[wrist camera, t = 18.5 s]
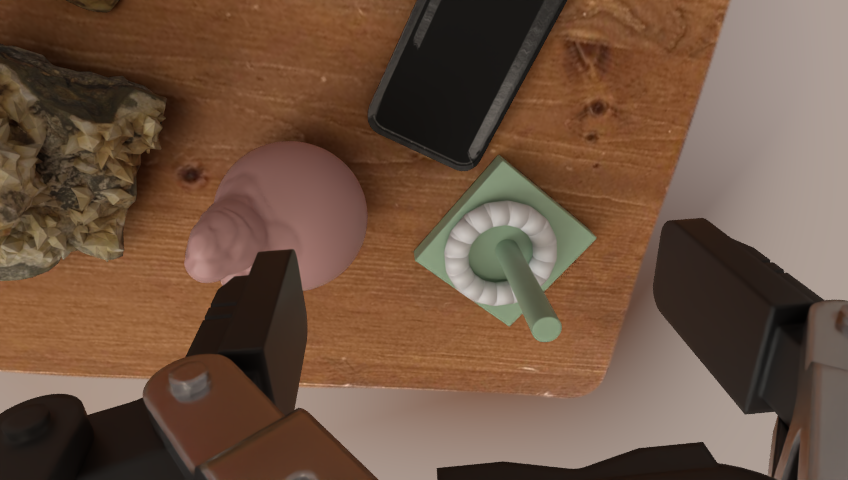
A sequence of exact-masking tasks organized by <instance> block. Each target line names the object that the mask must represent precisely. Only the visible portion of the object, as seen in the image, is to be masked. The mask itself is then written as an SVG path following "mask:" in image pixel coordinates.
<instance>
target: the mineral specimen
mask: <svg viewBox="0 0 848 480" xmlns="http://www.w3.org/2000/svg"><path fill="white" fill-rule="evenodd" d="M166 100H167V98H165V97H163V96H159V95H157V94H154V93H152V92H151V91H150V90H149V89H148V88H146V87H145V86H143V85H140V84H137V83H134V82H131V81H128V80H127V79H125V78H124V77H123V76H113V77H109V78H108V77H105V76H102V75H99V74H96V73H93V72H77V71H74V70H71V69H67V68H62V67H58V66H54V65H52V64H51V63H50V62H49V61H48V60H47V59H46V58H45V57H44V55H41V54H38V53H35V52H31V51H28V50H25V49H22V48H19V47H15V46H5V45H3V44H1V43H0V281H10V280H21V279H26V278H31V277H34V276H37V275H39V274H42V273H44V272H47V271H49V270H50V269H51V268H53V267H54V266H55V265H56V264H58V262H59V261H60V259H61V258H63V260H64V259H65V258H66V257H67V256H68V255H69V253H70V252H73V251H76V250H78V251H80V252H82V253H85V254H88V255H91V256H94V257H97V258H100V259H105V260H106V261H107V262H108V260H112V259H116V258H119V257H121V256H123V251H124V240H123V230H124V222H125V217H126V213H127V209H128V208H129V206H130V205H131V204H133V203H134V202H135V201H136V196H137V183H136V173H137V171H138V169H139V167H140V166H141V153H143V152H144V151H146V152H147V153H148V154H149V152H150V148H151V149H158V150H162V148H161V146H160V143H159V140H158V137H159V135H158V134H159V133H160V131H161V130H162V128H163V126H162V121H163V120H164V119H166V118H165V117H164V116H163V115H164V110H165V105H166Z"/></svg>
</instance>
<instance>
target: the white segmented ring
mask: <svg viewBox="0 0 848 480" xmlns="http://www.w3.org/2000/svg"><path fill="white" fill-rule="evenodd" d="M504 225H508V226H512V227H516V228H519V229H521V230H522V231H523V232H525V233H526V234H527V235H528V236H529V238H530V240H531V242H532V248H533V255H532V258H531V260H530V263H529V267H530V268H531V270H532V272H533V274H534V276H535V277H536V279H537V281H538V283H539V285H540V286H542V285H543V284H544V283H545V282H546V281H547V280H548V278H549V277H550V274H551V272H552V269H553V267H554V265H555V262H556V260H557V240H556V236H555V234H554V232H553V230H552V228H551V226H550V224H549V222H548V220H547V219H546V218H545V217H544V216H543V215H541V214H540V213H539V212H537V211H536V210H535V209H534V208H532V207H531V206H529V205H525V204H521V203H517V202H513V201H509V200H507V201H499V202H491V203H485V204H483V205H481V206H480V207H478V208H476V209H474V210H472V211H470V212H468V213H467V214H465V215H464V216H463V217H462V219H461V220H460V221H459V222H458V223H457V224H456V226H455V227H454V228H453V229H452V230H451V232H450V235H449V238H448V241H447V244H446V247H445V250H444V257H445V266H446V273H447V275H448V276H449V278H450V280H451V281H452V283H453V285H454V286H455V288H456V289H457V290H458V291H459V292H460V293H462V294H463V295H465V296H466V297H468V298H469V299H471V300H472V301H474V302H477V303H482V304H487V305H491V306H499V305H506V304H513V303H517V299H516V297H515V295H514V293H513V291H512V288H511V286H510V284H509V282H508V281H504V282H496V283H494V282H490V281H485V280H482V279H481V278H480V277H478V276H477V275H475V274H474V272H473V271H472V269H471V267H470V266H469V257H468V254H469V251H470V248H471V245H472V243H473V242H474V241H475V240H476V238H477V237H478V236H479V235H480V234H481V233H483V232H485V231H487V230H488V229H490V228H492V227H497V226H504Z"/></svg>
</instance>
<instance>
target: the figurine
mask: <svg viewBox="0 0 848 480" xmlns="http://www.w3.org/2000/svg"><path fill="white" fill-rule="evenodd" d="M367 217H368V215H367V205H366V200H365V196H364V193H363V190H362V188H361V186H360V184H359V182H358V180H357V178H356V177H355V175H354V174H353V172H352V171H351V170H350V169H349V168H348V166H347V165H346V164H345V163H344V162H343V161H341V160H340V159H339V158H338V157H336V156H335V155H334V154H332V153H330V152H329V151H327V150H325V149H323V148H321V147H318V146H315V145H312V144H308V143H304V142H296V141H283V142H275V143H270V144H266V145H264V146H261V147H258V148H256V149H254V150H252V151H250V152H248V153H247V154H246V155H244V156H243V157H241V158H240V159H239V160H238V161H237V162H236V163H235V164H234V165H233V166H232V167H231V168H230V169H229V170H228V172H227V173H226V175H225V176H224V178H223V180H222V181H221V183H220V185H219V188H218V190H217V193H216V196H215V200H214V204H212V205H211V206H210V207H209V208H208V209H207V211H205V212H204V213H203V214H202V215H201V217H200V219H199V221H198V222H197V224H196V225H195V226H194V227H193V229H192V231H191V233H190V237H189V240H188V245H187V249H186V254H185V258H186V259H185V268H186V270H187V272H188V274H189V275H190V276H191V277H192V278H193V279H195V280H197V281H199V282H202V283H212V282H216V281H219V280H220V281H221V283H222V285H224V284H226V283H227V282H228V281H229V280H230V279H232V278H233V277H234V276H244V275H249V272H250V270H251V267H252V265H253V263H254V260H255V258H256V255H257V253H258V252H261V251H274V250H287V249H294V250H295V252H296V255H297V260H298V265H299V271H300V277H301V284H302V290H303V291H306V290H310V289H314V288H317V287H319V286H322V285H324V284H326V283H328V282H330V281H331V280H333V279H335V278H336V277H337V276H339V275H340V274H341V273H342V272H344V271H345V270H346V269H347V268H348V266H349V265H350V264H351V263H352V262H353V260H354V259H355V257H356V256H357V254H358V252H359V250H360V248H361V246H362V244H363V241H364V238H365V234H366V229H367Z"/></svg>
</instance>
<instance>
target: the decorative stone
mask: <svg viewBox="0 0 848 480" xmlns="http://www.w3.org/2000/svg"><path fill="white" fill-rule="evenodd" d="M66 1H68V2H70V3H73V4H75V5H77V6H79V7H81V8H84V9H87V10H91V11H96V12H109V11H110V10H111V9H112V8H113V7H114V6H115V4H116V3H117V2H118V1H119V0H66Z"/></svg>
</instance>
